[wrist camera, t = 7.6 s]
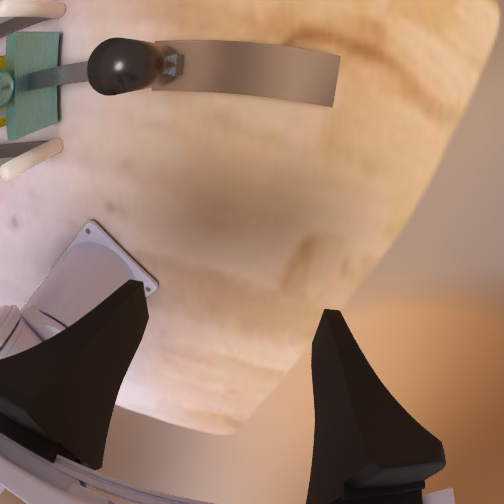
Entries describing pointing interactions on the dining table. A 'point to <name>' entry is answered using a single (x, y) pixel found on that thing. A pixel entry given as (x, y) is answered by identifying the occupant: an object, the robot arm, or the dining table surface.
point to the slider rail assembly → (74, 75)
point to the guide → (255, 70)
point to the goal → (3, 22)
